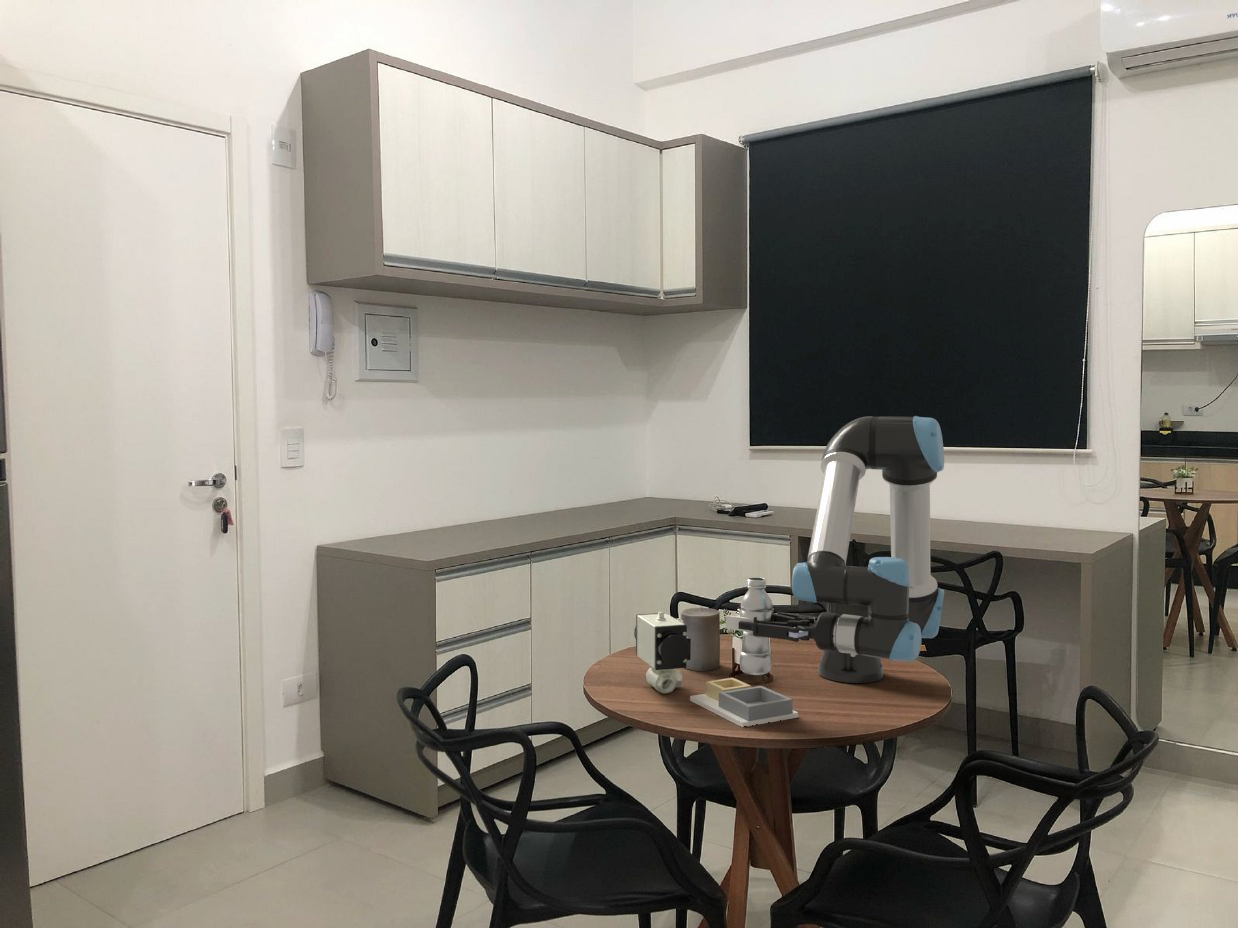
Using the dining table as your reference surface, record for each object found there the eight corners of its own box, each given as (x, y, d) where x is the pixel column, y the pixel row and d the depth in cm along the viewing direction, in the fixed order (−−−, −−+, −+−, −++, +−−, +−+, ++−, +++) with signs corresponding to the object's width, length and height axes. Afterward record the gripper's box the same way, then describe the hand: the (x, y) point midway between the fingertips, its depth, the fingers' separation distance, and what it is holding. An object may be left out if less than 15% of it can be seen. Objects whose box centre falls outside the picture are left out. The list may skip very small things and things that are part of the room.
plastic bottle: (737, 669, 209) (738, 576, 207) (770, 669, 209) (770, 576, 207) (740, 678, 202) (741, 581, 201) (773, 678, 202) (774, 581, 201)
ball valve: (695, 698, 217) (696, 619, 216) (659, 702, 214) (659, 621, 213) (666, 677, 234) (667, 603, 233) (632, 680, 231) (633, 605, 230)
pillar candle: (720, 661, 248) (719, 602, 247) (720, 671, 238) (719, 610, 238) (681, 660, 249) (681, 602, 248) (679, 671, 239) (679, 610, 239)
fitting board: (743, 691, 222) (743, 674, 222) (798, 717, 204) (798, 698, 204) (690, 700, 216) (690, 682, 215) (742, 727, 198) (742, 707, 198)
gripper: (821, 662, 187) (712, 645, 200) (855, 642, 203) (752, 628, 216) (822, 623, 187) (713, 609, 199) (855, 606, 203) (752, 594, 215)
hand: (733, 618), depth 208 cm, fingers closed on plastic bottle, 6 cm apart
